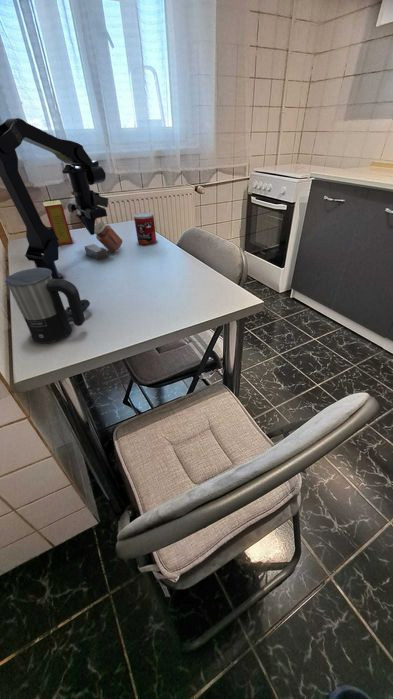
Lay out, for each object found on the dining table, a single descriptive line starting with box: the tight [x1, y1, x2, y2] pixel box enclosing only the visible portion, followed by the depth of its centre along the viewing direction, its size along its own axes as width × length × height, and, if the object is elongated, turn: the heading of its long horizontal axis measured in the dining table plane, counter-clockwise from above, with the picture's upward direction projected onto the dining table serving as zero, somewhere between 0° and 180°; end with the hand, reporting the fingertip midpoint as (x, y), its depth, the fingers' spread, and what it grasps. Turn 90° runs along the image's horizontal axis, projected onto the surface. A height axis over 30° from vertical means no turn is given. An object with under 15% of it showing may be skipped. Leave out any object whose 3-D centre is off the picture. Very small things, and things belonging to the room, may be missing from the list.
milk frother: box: [4, 267, 91, 344], centre depth 70 cm, size 14×16×15 cm
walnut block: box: [83, 243, 109, 261], centre depth 113 cm, size 10×4×3 cm, turn 43°
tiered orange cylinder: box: [94, 221, 123, 253], centre depth 113 cm, size 8×11×11 cm
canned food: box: [133, 212, 157, 246], centre depth 121 cm, size 8×8×11 cm
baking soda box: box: [42, 199, 74, 247], centre depth 125 cm, size 10×6×16 cm
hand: (92, 234), depth 109 cm, fingers closed, pressing on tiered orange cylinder
